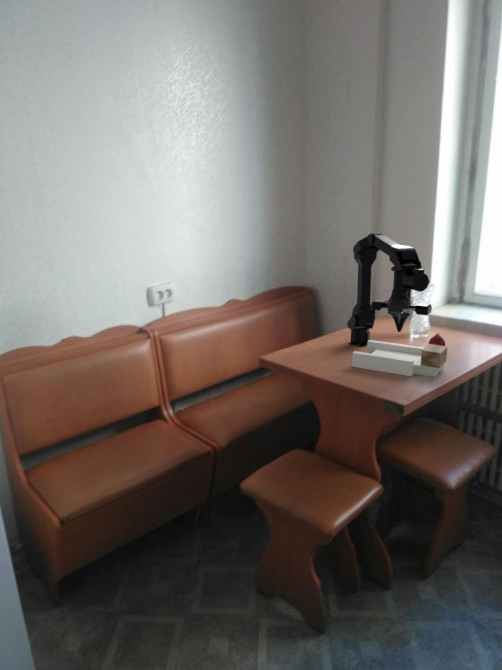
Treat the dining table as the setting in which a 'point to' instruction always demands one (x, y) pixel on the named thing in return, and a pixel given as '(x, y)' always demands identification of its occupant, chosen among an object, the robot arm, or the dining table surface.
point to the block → (433, 355)
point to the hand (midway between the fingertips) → (399, 331)
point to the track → (388, 357)
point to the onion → (437, 340)
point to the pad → (426, 369)
